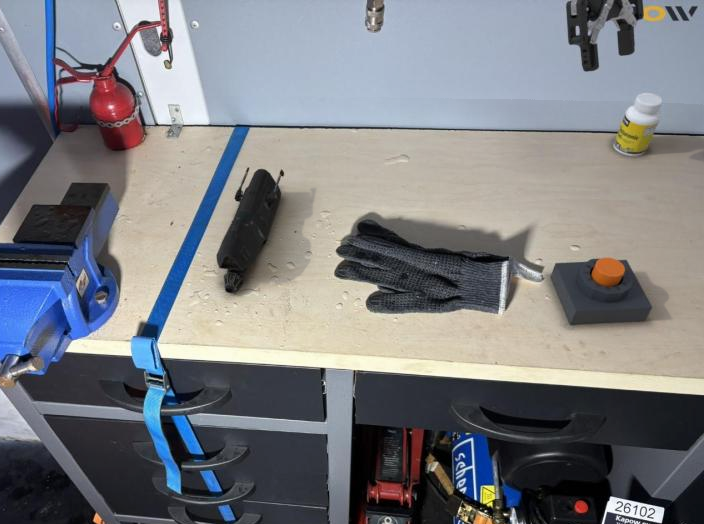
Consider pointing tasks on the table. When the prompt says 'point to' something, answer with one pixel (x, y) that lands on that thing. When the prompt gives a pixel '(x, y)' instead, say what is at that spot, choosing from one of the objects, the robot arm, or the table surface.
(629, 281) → the button housing
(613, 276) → the orange button cap
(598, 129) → the table surface
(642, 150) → the supplement bottle
